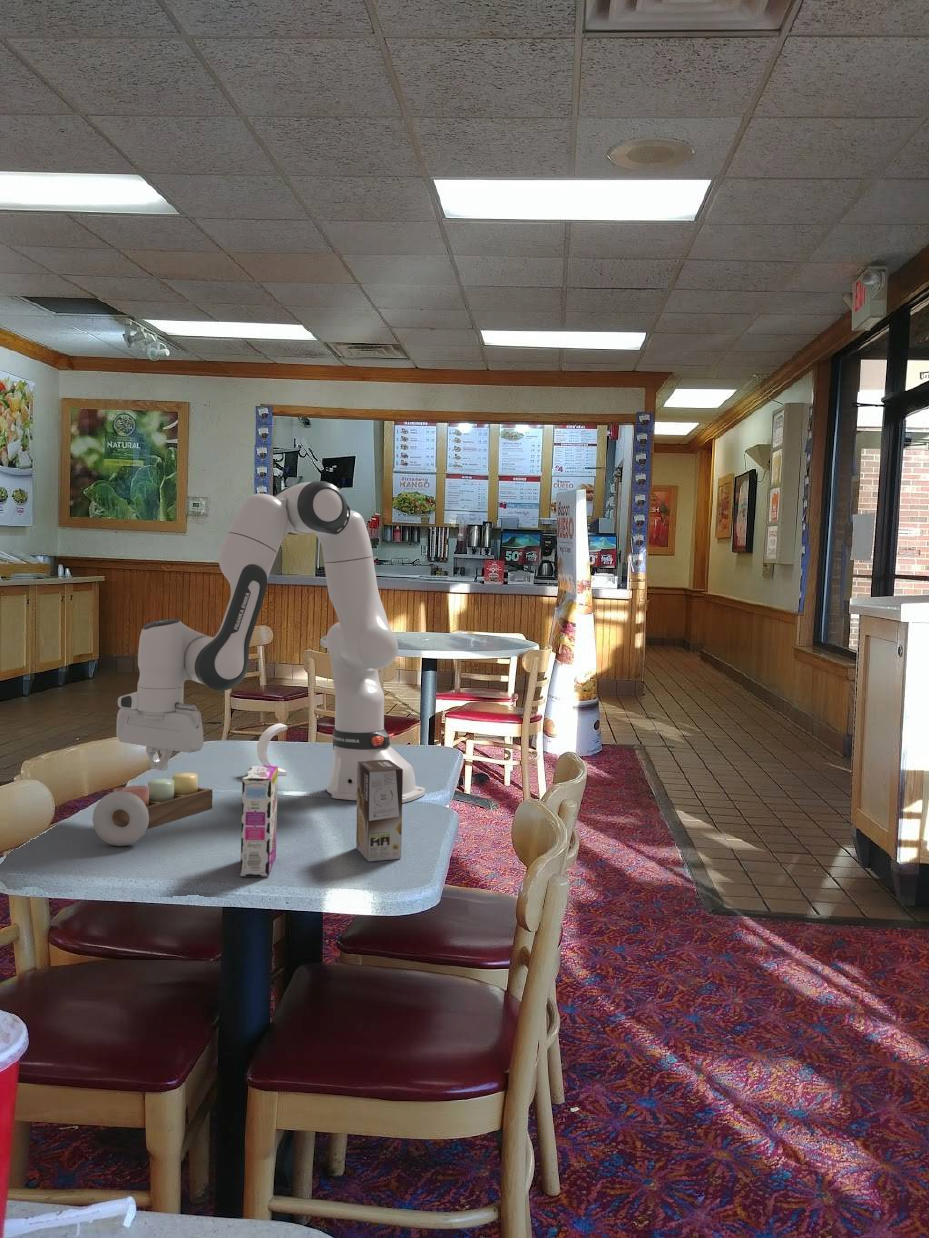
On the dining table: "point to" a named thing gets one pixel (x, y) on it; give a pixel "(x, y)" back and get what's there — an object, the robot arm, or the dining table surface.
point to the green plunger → (161, 790)
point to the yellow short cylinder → (185, 783)
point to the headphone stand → (264, 743)
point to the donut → (106, 825)
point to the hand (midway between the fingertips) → (159, 769)
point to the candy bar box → (259, 821)
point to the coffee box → (379, 810)
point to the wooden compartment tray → (171, 808)
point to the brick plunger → (139, 792)
